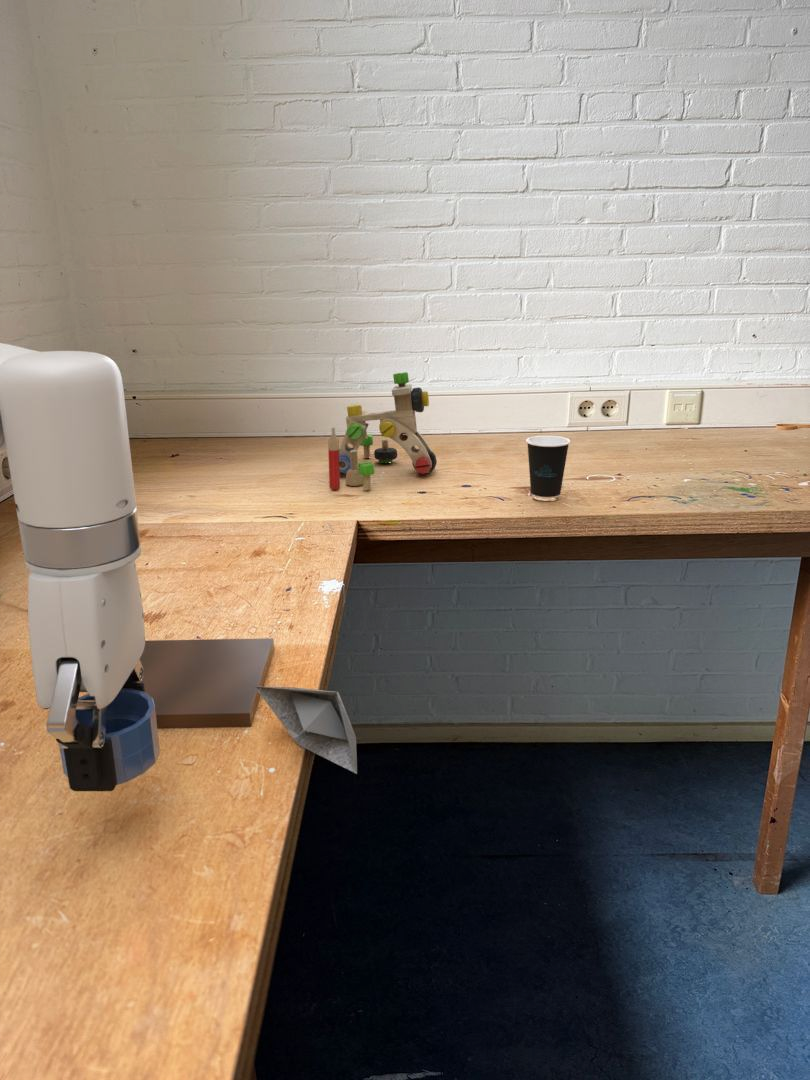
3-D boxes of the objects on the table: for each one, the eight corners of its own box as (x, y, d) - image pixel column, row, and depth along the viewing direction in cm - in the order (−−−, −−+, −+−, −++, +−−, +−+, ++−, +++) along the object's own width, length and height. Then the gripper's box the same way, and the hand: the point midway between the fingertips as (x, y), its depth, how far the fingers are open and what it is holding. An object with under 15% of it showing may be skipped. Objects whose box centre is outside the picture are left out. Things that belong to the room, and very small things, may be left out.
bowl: (49, 792, 58) (40, 738, 56) (84, 738, 64) (76, 687, 63) (145, 792, 58) (138, 738, 56) (170, 738, 64) (164, 688, 63)
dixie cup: (536, 506, 143) (539, 446, 140) (516, 494, 150) (518, 437, 147) (575, 501, 146) (578, 442, 142) (553, 490, 153) (556, 433, 149)
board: (85, 729, 77) (83, 716, 77) (135, 652, 92) (134, 640, 92) (251, 726, 77) (249, 713, 77) (274, 649, 92) (273, 638, 92)
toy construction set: (388, 499, 149) (386, 388, 142) (291, 484, 159) (285, 380, 152) (453, 467, 171) (453, 369, 164) (364, 456, 181) (361, 363, 174)
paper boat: (396, 723, 75) (371, 755, 66) (358, 773, 76) (328, 812, 67) (298, 644, 77) (260, 665, 68) (262, 695, 78) (220, 723, 69)
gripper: (74, 499, 63) (101, 696, 69) (-38, 586, 47) (11, 835, 53) (170, 500, 63) (189, 696, 69) (92, 587, 47) (125, 835, 53)
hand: (111, 755), depth 61 cm, fingers closed on bowl, 7 cm apart
